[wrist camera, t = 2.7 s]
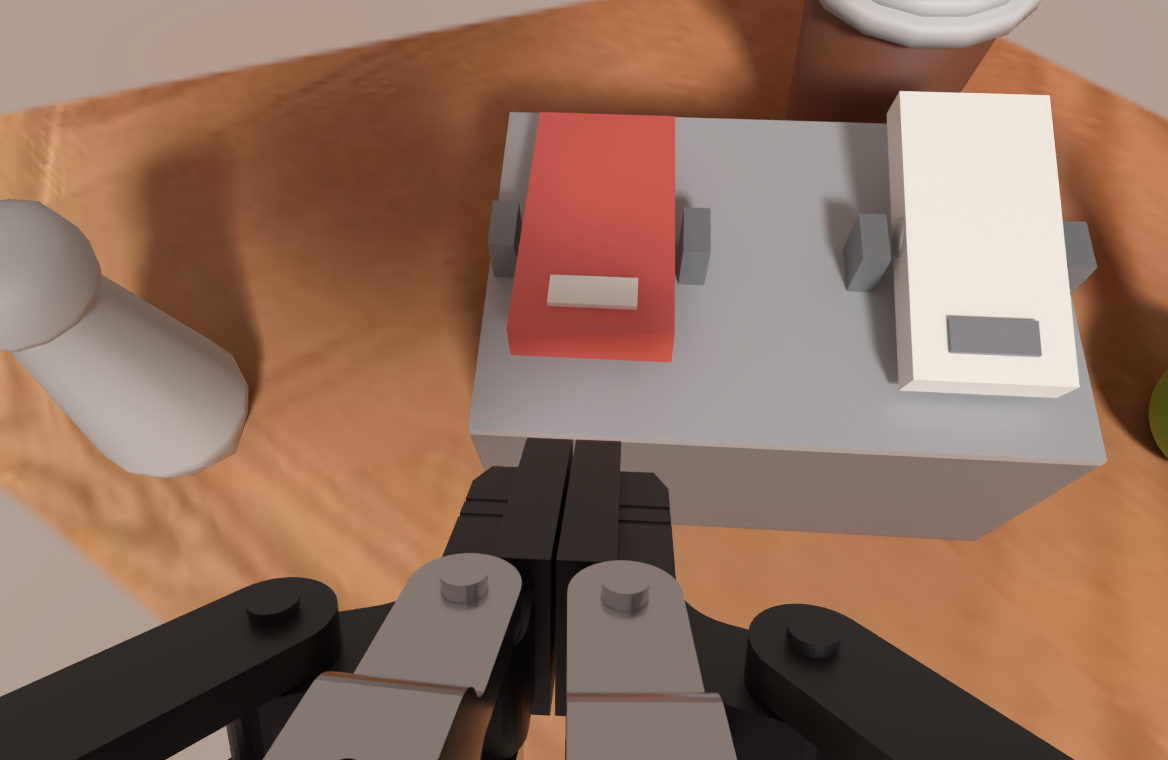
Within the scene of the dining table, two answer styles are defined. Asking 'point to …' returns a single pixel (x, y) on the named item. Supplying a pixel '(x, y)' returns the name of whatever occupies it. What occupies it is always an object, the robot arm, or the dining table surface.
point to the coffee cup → (890, 52)
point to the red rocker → (597, 240)
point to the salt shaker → (113, 352)
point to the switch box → (782, 355)
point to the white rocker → (979, 246)
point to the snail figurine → (1160, 413)
